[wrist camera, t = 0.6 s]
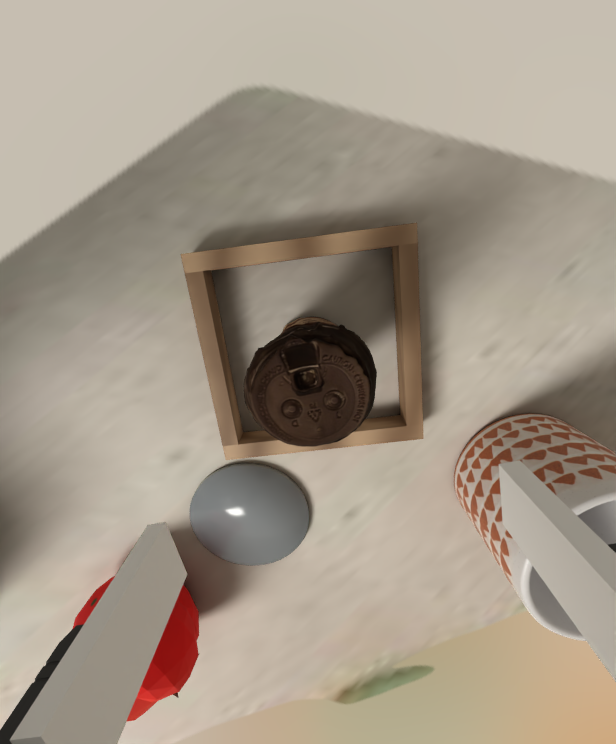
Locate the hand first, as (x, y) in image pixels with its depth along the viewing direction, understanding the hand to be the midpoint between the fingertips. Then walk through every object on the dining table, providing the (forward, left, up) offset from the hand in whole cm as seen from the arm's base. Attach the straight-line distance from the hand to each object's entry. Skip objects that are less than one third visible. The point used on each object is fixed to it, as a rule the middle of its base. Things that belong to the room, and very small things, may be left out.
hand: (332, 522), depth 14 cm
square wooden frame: (0, +2, -21) cm, 21 cm away
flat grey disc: (-9, -16, -21) cm, 28 cm away
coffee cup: (0, +2, -21) cm, 21 cm away
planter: (+20, -14, -21) cm, 32 cm away
